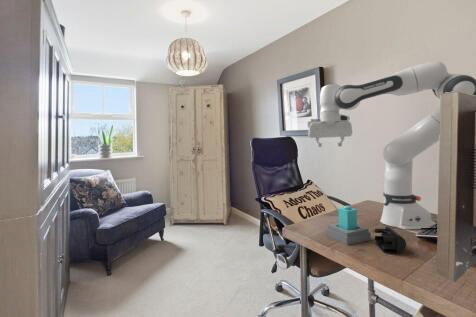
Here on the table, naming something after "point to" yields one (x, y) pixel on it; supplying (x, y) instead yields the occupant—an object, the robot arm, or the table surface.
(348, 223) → the teal brick
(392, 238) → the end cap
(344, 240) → the base plate
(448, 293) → the table surface
